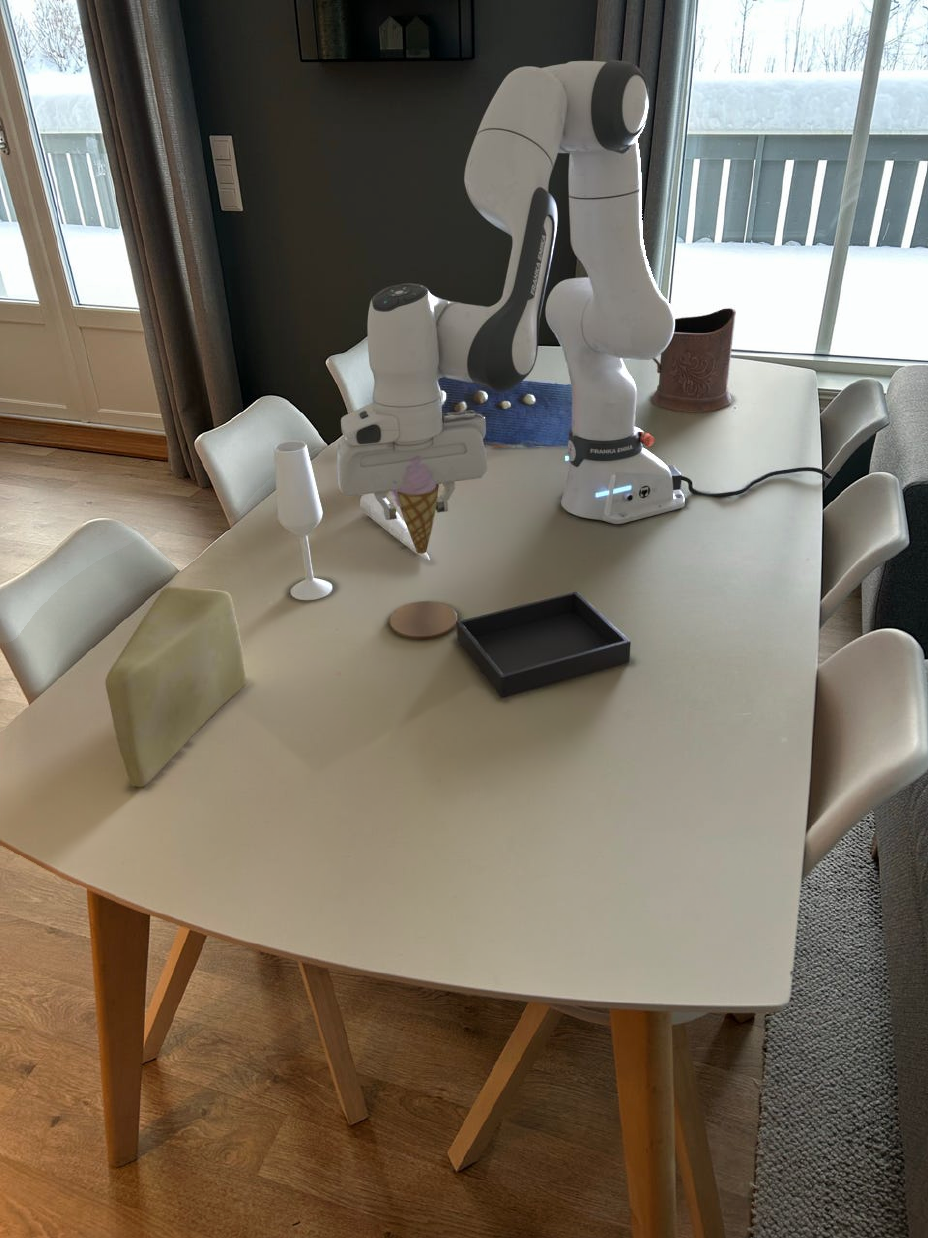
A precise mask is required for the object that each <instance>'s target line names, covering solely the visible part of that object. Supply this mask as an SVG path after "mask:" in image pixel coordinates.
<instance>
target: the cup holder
mask: <svg viewBox="0 0 928 1238" xmlns="http://www.w3.org/2000/svg"><path fill="white" fill-rule="evenodd" d="M736 312H737V311H736V309H734V308H733V307H725V308H722V309H720V310H716V311H714V312H712V313H707V314H702V315H696V316H695V315H694V316H685V317H677V318H675V328H674V333H673V337H672V339H671V341H670V343H669V345H668V346H667V348H666V349H665V350H664V351H663V352H662V353H661V354H660V362H659V360H658V359H657V357H656V358H654V359H652V360H653V361H654V363H655V364H656V373H657V374H659V376H658V384H657V386H656V391H655V392H654V393H653V395H652V396H651V400H652V402H653V403H654V404H656V405H657V406H659V407H662V408H665V409H667V410H673V411H678V412H688V413H691V412H692V413H693V412H694V413H695V412H696V413H700V412H713V411H717V410H721V409H723V408H726V407H728V406H729V405H731V403H732V397H731V395H730V393H729V385H728V384H729V376H730V375H729V374H730V367H731V359H732V358H731V357H732V351H733V350H732V348H733V341H734V331H735V322H736Z"/></svg>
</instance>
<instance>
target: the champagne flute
mask: <svg viewBox="0 0 928 1238" xmlns="http://www.w3.org/2000/svg"><path fill="white" fill-rule="evenodd" d="M307 445H308V444H307V443H306V442H305V441H302V440H284V441H282V442H278V443H277V444H275V445H274V446H273V458H274V460H273V461H274V473H275V474H274V475H275V478H274V479H275V490H276V494H275V495H276V510H277V520H278V521H279V523H280V525H282V527H283V528H285V529H286V530H287V531H288V532H290V533H292V534H293V535H295V536H298V537H299V542H300V549H301V553H302V554H301V555H302V560H303V561H302V562H303V568H304V574H305V579H304V580H302V581H300V582H298V583H296V584H294V585H293V586H292V587H291V589H290V595H291V596H292V597H293V598H294V599H296V600H300V601H314V600H318V599H321V598H324V597H326V596H328V595H330V594H331V592H332V591H333V585H332V583H331V582H329V581H327V580H324V579H320V578H316V577H314V572H313V565H312V558H311V551H310V544H309V538H308V537H309V536H308V535H310V534H311V533H313V531H314V530H315V529H316V528H317V527H318V525H319V524H320V522H321V520H322V518H323V508H322V504H321V501H320V496H319V492H318V488H317V484H316V479H315V475H314V470H313V467H312V462H311V458H310V454H309V450H308V446H307Z"/></svg>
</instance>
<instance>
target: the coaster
mask: <svg viewBox="0 0 928 1238" xmlns="http://www.w3.org/2000/svg"><path fill="white" fill-rule="evenodd" d="M457 621H458V614H457V612H456V611H455V609H454V608H453V607H451V606H450V605H447V604H445V603H443V602H438V601H431V600H430V601H415V602H412V603H408V604H405V605H403V606H400V607H399V608H397V609H395V611H393V613H391V616H390V617H389V626H390V628H391V630H392V631H393V632H394V633H395V634H397V635H398V636H400V637H403V638H406V639H411V640H431V639H436V638H438V637H441V636H444V635H446V634H448V633H449V632H451V631H452V630H454V628H455V627H456V626H457V623H456V622H457Z"/></svg>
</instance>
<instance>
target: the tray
mask: <svg viewBox="0 0 928 1238" xmlns="http://www.w3.org/2000/svg"><path fill="white" fill-rule="evenodd" d="M456 637H457V638H456V639H457V643H458V644H459V645H460V646H461V648H462V649H463V650H464V651H465V653H466V654H467V656H468V657H469V658H470V659H471V661H472V662H473V663H474V665H475V666H476V667H477V669H478V670H479V671H480V672H481V674H482V675H483V677H485V679H486V681H488V683H489V684H490V685H491V687H492V688H493V689H494V691H495V692H496V693H497V695H498V696H499V697H500V698H501V699H504V698H508V697H511V696H515V695H519V694H521V693H525V692H529V691H531V690H535V689H539V688H543V687H546V686H549V685H554V684H557V683H561V682H564V681H567V680H570V679H574V678H578V677H581V676H584V675H588V674H592V673H595V672H599V671H601V670H605V669H609V668H612V667H616V666H619V665H623V664H627V663H630V657H631V645H632V643H631V640H629V638H627V636H626V635H624V633H622V632H621V631H620V630H619V629H618V628H617V627H616V626H614V625H613V623H611V622H610V621H609V620H608V619H607V618H606V617H605V616H603V614H602V613H600V611H598V609H596V608H595V607H594V606H593V605H592V604H591V603H590V602H589V601H588V600H587V599H585V597H583V596H582V595H581V594H580V592H578V591H577V590H575V591H573V592H567V593H564V594H560V595H557V596H553V597H552V596H551V597H549V598H545V599H540V600H537V601H533V602H529V603H525V604H521V605H517V606H513V607H508V608H504V609H500V610H497V611H493V612H488V613H485V614H481V615H476V616H473V617H468V618H465V619H462V620H457V622H456Z"/></svg>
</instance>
